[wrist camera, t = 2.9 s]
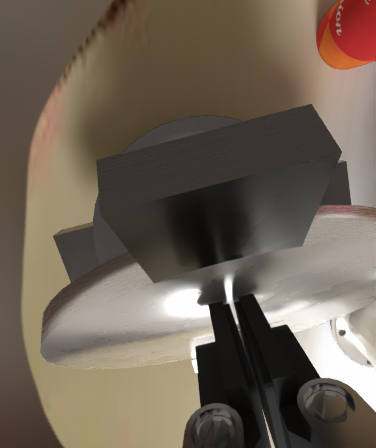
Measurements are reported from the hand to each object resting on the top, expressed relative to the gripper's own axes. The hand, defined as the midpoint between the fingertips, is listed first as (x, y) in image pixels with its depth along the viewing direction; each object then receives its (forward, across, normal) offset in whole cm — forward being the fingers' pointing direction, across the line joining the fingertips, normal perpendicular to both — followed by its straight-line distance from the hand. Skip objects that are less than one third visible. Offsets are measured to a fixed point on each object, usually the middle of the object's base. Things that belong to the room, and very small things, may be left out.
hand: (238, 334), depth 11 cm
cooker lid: (+4, 0, 0) cm, 4 cm away
